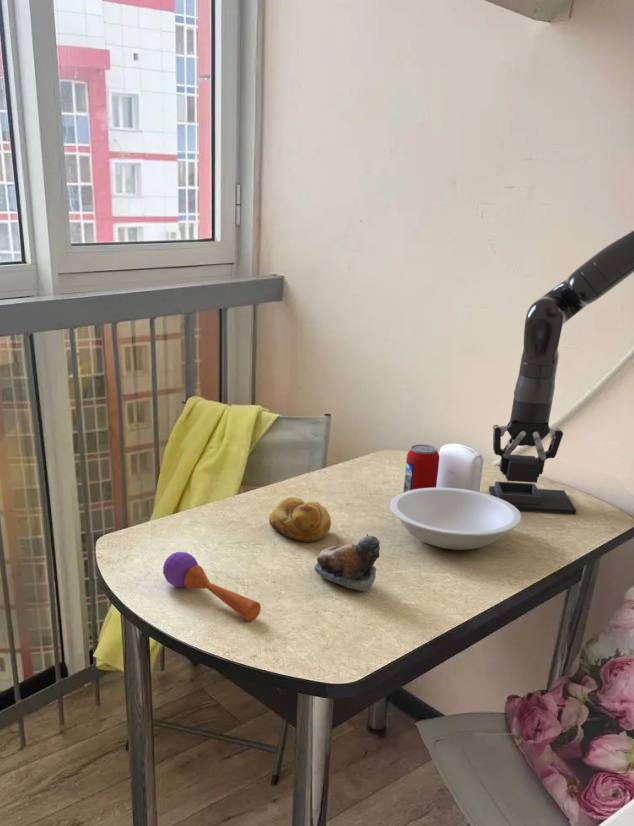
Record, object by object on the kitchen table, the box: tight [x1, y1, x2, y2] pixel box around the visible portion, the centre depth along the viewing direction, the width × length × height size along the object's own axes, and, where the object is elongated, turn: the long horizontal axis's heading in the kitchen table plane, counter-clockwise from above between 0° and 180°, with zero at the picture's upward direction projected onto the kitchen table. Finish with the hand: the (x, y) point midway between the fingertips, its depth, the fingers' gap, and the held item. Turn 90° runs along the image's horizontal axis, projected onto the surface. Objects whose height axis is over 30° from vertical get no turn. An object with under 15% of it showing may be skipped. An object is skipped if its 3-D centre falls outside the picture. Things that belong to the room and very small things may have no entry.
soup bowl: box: [389, 487, 522, 551], centre depth 147 cm, size 24×24×7 cm
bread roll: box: [268, 496, 332, 543], centre depth 150 cm, size 13×10×8 cm
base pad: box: [488, 481, 577, 515], centre depth 167 cm, size 16×12×3 cm
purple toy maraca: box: [162, 551, 262, 622], centre depth 126 cm, size 6×6×20 cm
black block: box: [504, 454, 540, 484], centre depth 165 cm, size 6×6×4 cm
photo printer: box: [436, 443, 484, 492], centre depth 166 cm, size 10×4×12 cm, turn 32°
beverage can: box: [402, 444, 440, 493], centre depth 165 cm, size 7×7×12 cm
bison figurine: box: [313, 533, 381, 592], centre depth 130 cm, size 12×7×10 cm, turn 44°
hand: (520, 474), depth 166 cm, fingers closed on black block, 6 cm apart
